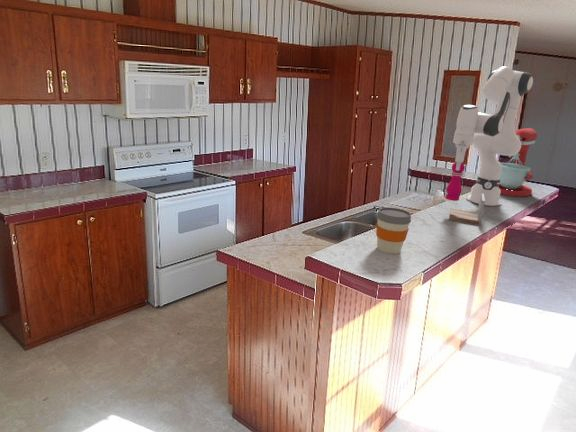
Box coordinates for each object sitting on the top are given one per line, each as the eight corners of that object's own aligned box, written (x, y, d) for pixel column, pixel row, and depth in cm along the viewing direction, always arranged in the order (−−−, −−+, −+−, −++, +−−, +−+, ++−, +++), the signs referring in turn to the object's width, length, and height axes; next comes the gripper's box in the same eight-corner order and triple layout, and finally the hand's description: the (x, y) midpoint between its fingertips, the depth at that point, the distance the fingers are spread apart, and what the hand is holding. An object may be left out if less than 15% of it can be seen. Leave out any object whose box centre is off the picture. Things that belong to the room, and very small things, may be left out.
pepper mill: (460, 201, 225) (469, 161, 219) (445, 199, 227) (453, 159, 220) (458, 198, 232) (466, 158, 226) (443, 196, 233) (451, 156, 227)
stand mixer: (483, 190, 294) (497, 126, 282) (498, 184, 317) (512, 125, 305) (523, 199, 279) (539, 132, 267) (536, 192, 303) (552, 130, 291)
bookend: (450, 211, 239) (454, 189, 235) (478, 216, 234) (484, 193, 231) (448, 220, 224) (453, 196, 221) (479, 225, 220) (484, 201, 216)
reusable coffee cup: (412, 252, 178) (418, 215, 173) (388, 257, 171) (394, 218, 166) (389, 241, 188) (394, 206, 183) (365, 245, 181) (371, 208, 176)
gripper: (470, 143, 210) (464, 173, 214) (470, 138, 228) (464, 166, 233) (455, 141, 212) (449, 171, 216) (456, 137, 230) (451, 164, 235)
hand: (457, 168), depth 225 cm, fingers closed on pepper mill, 6 cm apart
